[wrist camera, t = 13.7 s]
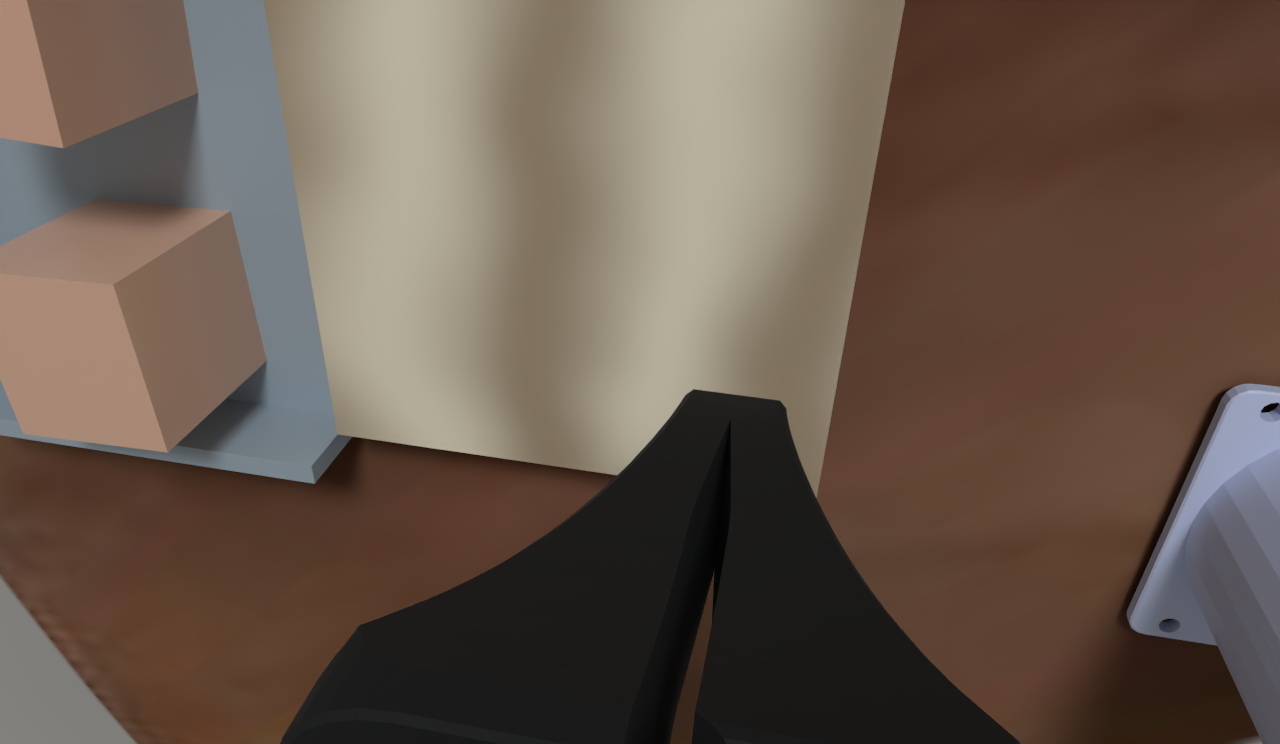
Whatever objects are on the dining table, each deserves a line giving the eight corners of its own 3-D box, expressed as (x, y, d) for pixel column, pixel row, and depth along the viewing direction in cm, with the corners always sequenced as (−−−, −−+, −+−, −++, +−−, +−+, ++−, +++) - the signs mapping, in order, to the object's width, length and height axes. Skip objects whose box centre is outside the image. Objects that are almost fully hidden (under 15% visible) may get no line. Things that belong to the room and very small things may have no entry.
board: (918, -129, 17) (927, -124, 16) (816, 458, 25) (815, 504, 23) (289, -159, 19) (236, -157, 17) (369, 395, 26) (337, 434, 25)
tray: (267, -216, 19) (177, -222, 16) (364, 422, 27) (314, 484, 24) (-225, -235, 20) (-377, -243, 18) (9, 371, 29) (-71, 424, 26)
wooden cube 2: (112, 284, 20) (-47, 269, 20) (167, 452, 22) (23, 434, 22) (230, 210, 23) (93, 199, 24) (266, 360, 26) (140, 346, 26)
